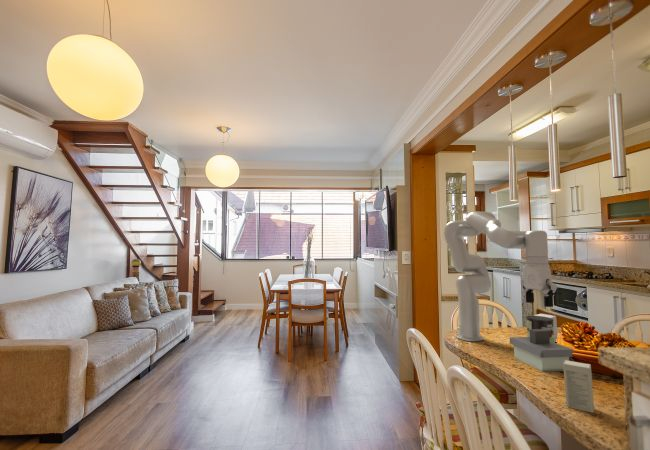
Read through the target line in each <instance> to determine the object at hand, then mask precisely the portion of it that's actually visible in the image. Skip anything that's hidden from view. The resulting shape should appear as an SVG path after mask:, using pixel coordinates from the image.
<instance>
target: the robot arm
mask: <svg viewBox="0 0 650 450" xmlns="http://www.w3.org/2000/svg"><path fill="white" fill-rule="evenodd" d="M443 231H444V232H443V234H444V235H443V236H444V240H445V242H446V244H447V246H448V250H449V253H450V256H451V260H452V264H453V267H454V269H455V271H456V272H458V273H465V274H463V275H460V276H458V277H457V279H456V282H455V286H456V292H457V296H458V297H457V298H458V301H457V302H458V326H457V330H458V332H457V333H456V334H455V337H456V338H457V339H459V340H461V341H466V342H473V343H474V342H477V343H478V342H482V341H484V336H482V335H480V333H481V330H480V324H481V323H480V322H481V321H480V302H479V298H478V297H477V296H476V294H484V293H485V294H486V293H487V292H489V291H490V290H491V287H492V282H491V278H490V274H489V272H488V269H487V266H486V262H485V260H484V258H483V257H481V256H480V255H478V254H476V253H473V254H470V253H469V251H468V247H467V245H466V243H465V242H464V241H463V239H462V238H461V237H463V238H465V237H467V238H469V237H470V238H471V237H476V236H479V235H481V234H483V235H486V237H487V238H488V239H489V241H490V242H492V243H494V244H496V245H498V246H500V247H501V248H504V249H509V250H510V249H512V250H513V249H516V250H522V249H525V263H526V264H525V265H524V270H523V280H521V282H520V283H521V285H522V289H523V291H524V293H525V303H531V304H532V303H535V295H534V294H535V293H534V292H533V291H539V292H540V291H542V293H543V294H544V296H543V304H544V307H545V308H549V307H550V308H553V307H554V296H555V295H556V292H557V289H558V285H557V284H555V283H554V282H553V280H552V279H553V278H552V271H551V267H550V265H549V249H548V248H549V246H548V245H549V244H548V234H547V232H546V231H545V230H528V231H525V230H508V229H506V228H505V229H504V228H503V227H502V223H501V221H500V220H499V219H497V218H496V215H494V214H493V213H492V212H489V211H479V210H478V211H477V210H476V211H472V212H469V213H467V215H466V217H465V220H459V219H458V220H451V221H449V222H448V223H446V224H445V226H444V230H443ZM467 273H469V274H467ZM470 273H471V274H470Z"/></svg>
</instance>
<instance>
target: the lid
mask: <svg viewBox="0 0 650 450" xmlns="http://www.w3.org/2000/svg"><path fill="white" fill-rule="evenodd" d="M509 345H512V346H513V347H514V346H516V347H519V348H521V349H523V350H525V351H528V352H530V353H532V354H534V355H537V356H539V357H541V358H546V357H569V358H571V357H573V358H574V356H572V353H574V349H573V348H570V347H568V346H565V345H563V344H559V343H558V342H557V343H555V342H552V341H550V337H549V331H548V330H545V329H530V337H527V336H514V337H509Z"/></svg>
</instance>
